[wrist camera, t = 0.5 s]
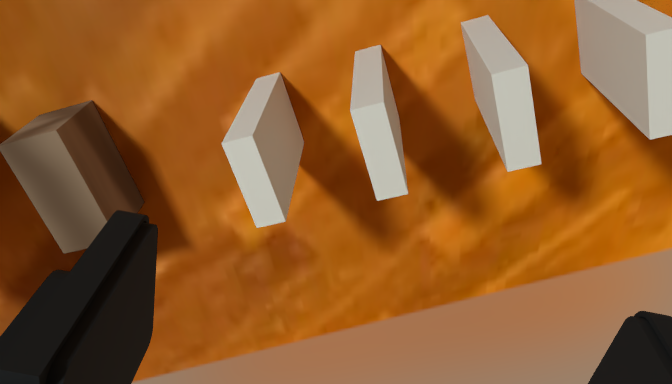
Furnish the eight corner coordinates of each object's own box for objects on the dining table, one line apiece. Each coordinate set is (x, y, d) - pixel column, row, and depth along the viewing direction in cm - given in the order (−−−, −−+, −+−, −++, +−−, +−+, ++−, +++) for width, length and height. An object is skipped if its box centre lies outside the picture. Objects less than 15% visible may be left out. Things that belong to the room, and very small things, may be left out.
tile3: (487, 15, 34) (528, 65, 25) (500, 93, 36) (541, 164, 28) (460, 22, 34) (491, 74, 26) (475, 99, 37) (507, 171, 28)
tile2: (602, -17, 33) (686, 24, 24) (608, 66, 35) (686, 131, 27) (573, -9, 33) (645, 34, 25) (581, 73, 36) (649, 139, 27)
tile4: (380, 44, 35) (383, 101, 27) (399, 118, 38) (408, 194, 29) (355, 51, 36) (350, 110, 27) (375, 124, 38) (376, 200, 29)
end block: (92, 100, 38) (56, 130, 34) (144, 202, 42) (118, 241, 37) (39, 115, 39) (-3, 146, 34) (95, 214, 42) (63, 253, 38)
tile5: (280, 72, 37) (252, 135, 28) (304, 142, 39) (285, 221, 30) (256, 78, 37) (221, 143, 28) (281, 148, 39) (256, 228, 30)
